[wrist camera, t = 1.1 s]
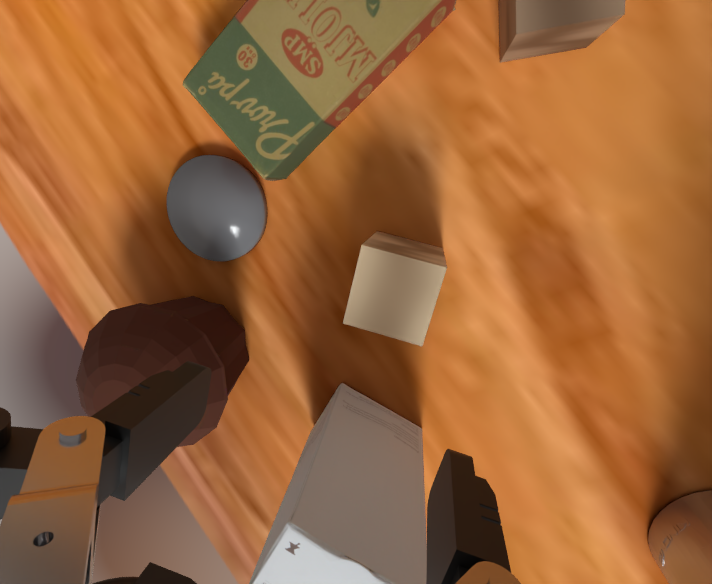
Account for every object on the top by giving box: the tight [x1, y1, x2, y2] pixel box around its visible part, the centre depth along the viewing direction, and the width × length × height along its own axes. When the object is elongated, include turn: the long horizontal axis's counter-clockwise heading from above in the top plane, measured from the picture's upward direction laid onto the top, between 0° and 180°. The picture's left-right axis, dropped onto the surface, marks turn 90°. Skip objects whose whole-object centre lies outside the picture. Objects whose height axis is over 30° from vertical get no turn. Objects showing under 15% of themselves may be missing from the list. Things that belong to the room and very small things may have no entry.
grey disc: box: [167, 155, 267, 261], centre depth 31 cm, size 8×8×1 cm
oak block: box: [343, 231, 447, 346], centre depth 26 cm, size 5×5×7 cm
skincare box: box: [249, 383, 427, 584], centre depth 27 cm, size 8×6×15 cm
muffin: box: [76, 296, 249, 447], centre depth 30 cm, size 12×11×10 cm
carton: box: [183, 0, 456, 181], centre depth 25 cm, size 8×16×4 cm, turn 132°
